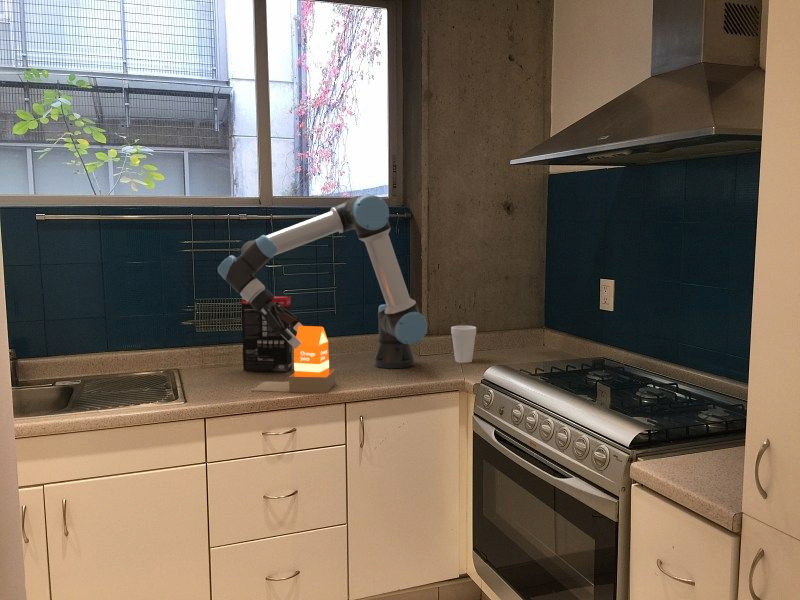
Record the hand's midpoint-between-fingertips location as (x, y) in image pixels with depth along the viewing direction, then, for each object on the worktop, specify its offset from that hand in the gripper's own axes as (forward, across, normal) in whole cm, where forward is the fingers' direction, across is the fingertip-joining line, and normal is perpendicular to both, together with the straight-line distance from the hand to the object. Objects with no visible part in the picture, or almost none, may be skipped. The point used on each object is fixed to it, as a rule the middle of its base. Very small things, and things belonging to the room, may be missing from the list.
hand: (304, 342), depth 223 cm
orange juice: (+12, 0, -9) cm, 15 cm away
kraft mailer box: (+8, 0, -13) cm, 16 cm away
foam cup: (+46, -46, +24) cm, 70 cm away
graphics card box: (-4, -25, -26) cm, 36 cm away
